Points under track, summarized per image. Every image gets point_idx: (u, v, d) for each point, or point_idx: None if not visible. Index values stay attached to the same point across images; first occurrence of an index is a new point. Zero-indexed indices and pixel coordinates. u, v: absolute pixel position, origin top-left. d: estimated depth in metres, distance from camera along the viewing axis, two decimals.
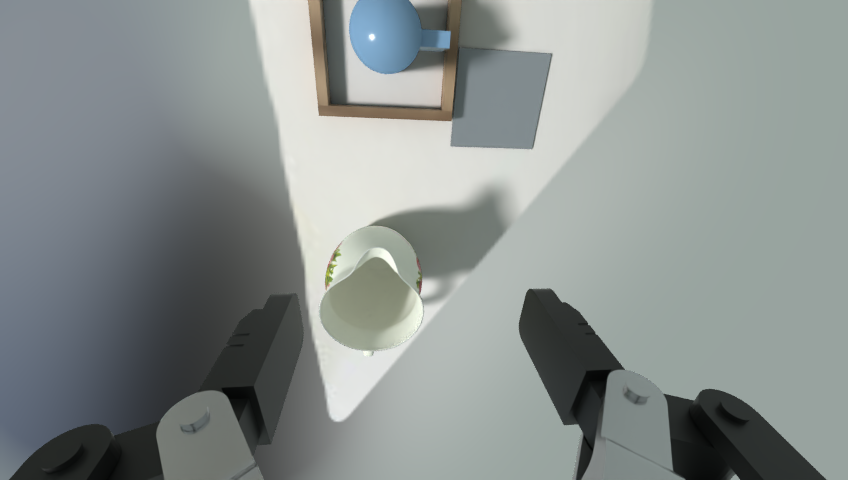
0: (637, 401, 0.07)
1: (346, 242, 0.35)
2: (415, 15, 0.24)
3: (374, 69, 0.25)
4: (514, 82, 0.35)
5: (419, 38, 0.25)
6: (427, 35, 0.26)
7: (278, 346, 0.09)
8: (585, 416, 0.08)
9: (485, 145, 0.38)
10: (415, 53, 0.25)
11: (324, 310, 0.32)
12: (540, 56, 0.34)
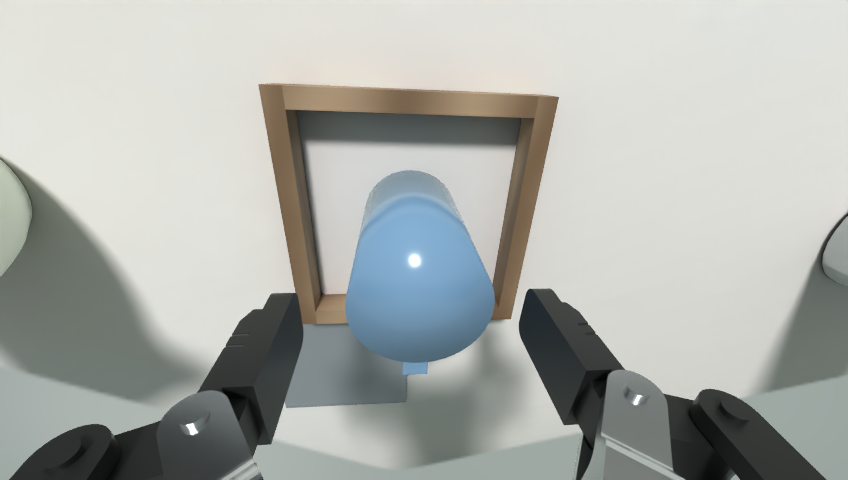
0: (637, 401, 0.07)
1: None
2: (450, 352, 0.13)
3: (351, 290, 0.11)
4: (370, 374, 0.26)
5: (414, 359, 0.13)
6: None
7: (278, 346, 0.09)
8: (585, 416, 0.08)
9: None
10: (389, 356, 0.13)
11: None
12: (402, 393, 0.27)
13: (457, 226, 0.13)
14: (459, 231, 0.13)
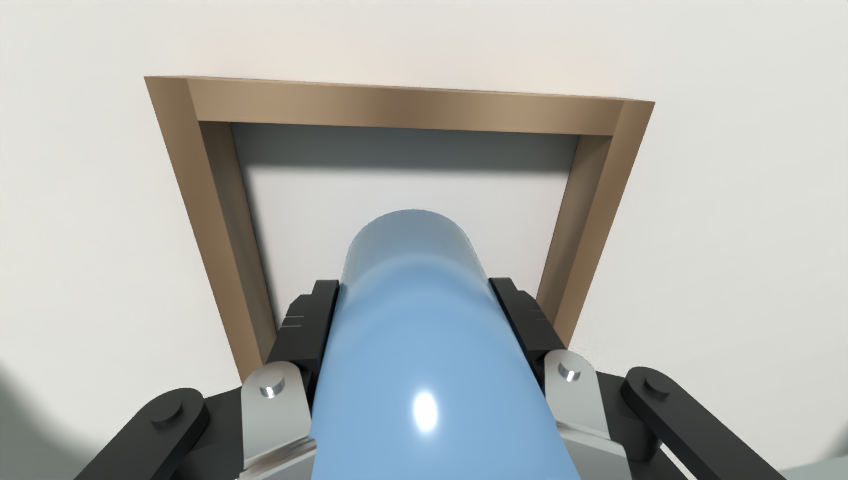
0: (568, 377, 0.08)
1: None
2: None
3: None
4: None
5: None
6: None
7: (329, 326, 0.09)
8: None
9: None
10: None
11: None
12: None
13: (505, 345, 0.07)
14: (512, 362, 0.07)
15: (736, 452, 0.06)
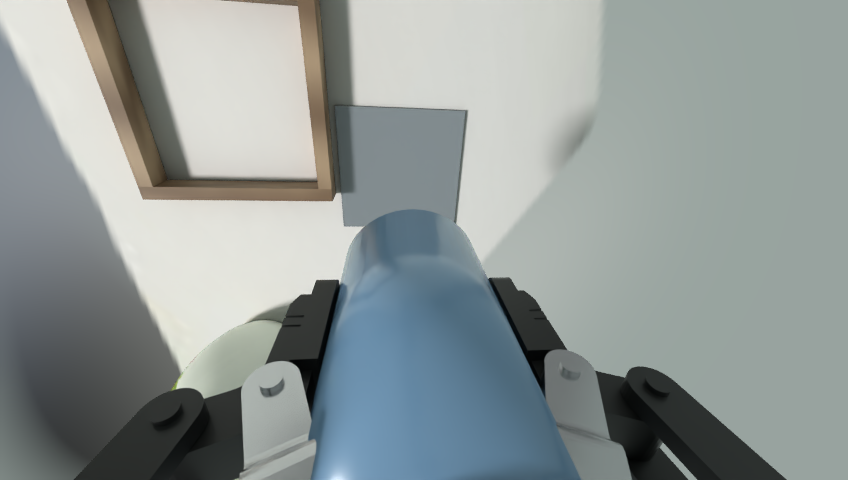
0: (568, 377, 0.08)
1: (193, 364, 0.26)
2: None
3: None
4: (418, 147, 0.26)
5: None
6: None
7: (329, 326, 0.09)
8: None
9: None
10: None
11: None
12: (450, 114, 0.25)
13: (505, 345, 0.07)
14: (512, 362, 0.07)
15: (736, 453, 0.06)
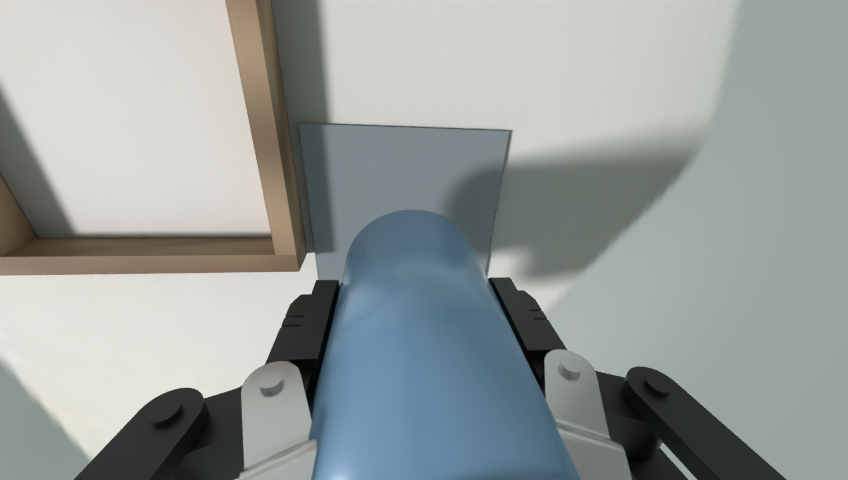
0: (568, 376, 0.08)
1: None
2: None
3: None
4: (433, 187, 0.17)
5: None
6: None
7: (329, 326, 0.09)
8: None
9: None
10: None
11: None
12: (485, 137, 0.16)
13: (505, 345, 0.07)
14: (512, 362, 0.07)
15: (736, 453, 0.06)
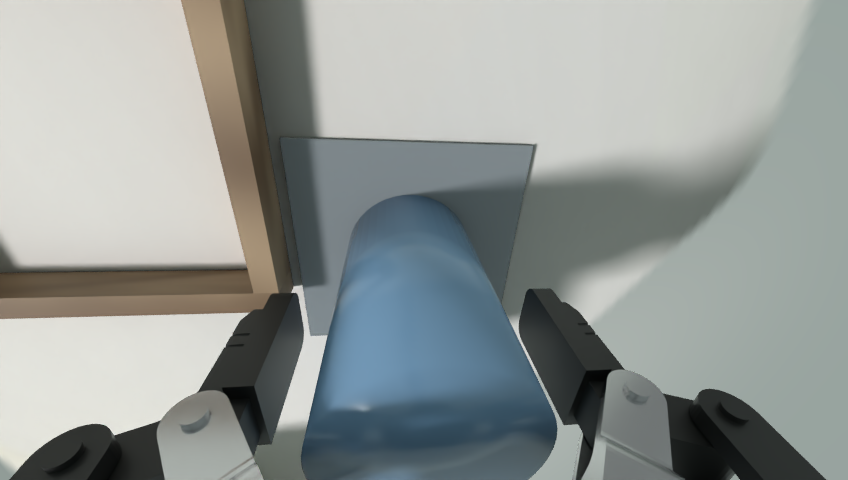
0: (637, 401, 0.07)
1: None
2: None
3: (310, 441, 0.06)
4: None
5: None
6: None
7: (278, 346, 0.09)
8: (585, 416, 0.08)
9: None
10: None
11: None
12: (505, 152, 0.13)
13: (488, 301, 0.08)
14: (493, 313, 0.08)
15: None
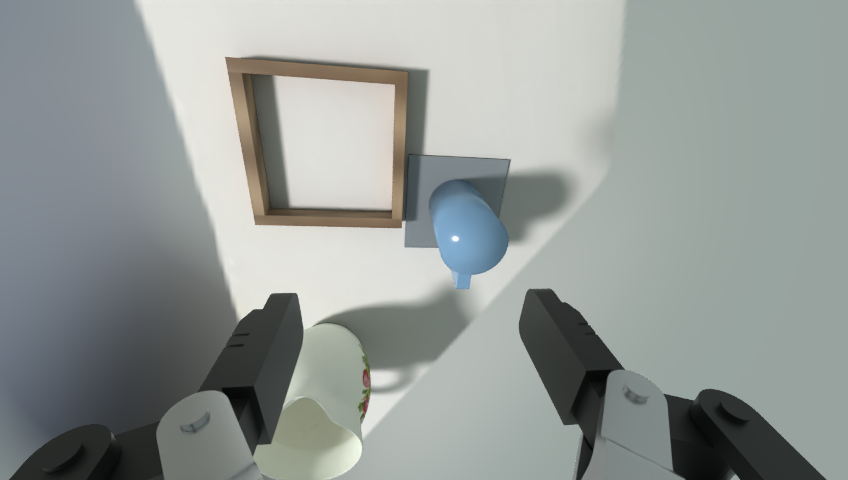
0: (637, 401, 0.07)
1: None
2: (485, 269, 0.26)
3: (444, 234, 0.25)
4: None
5: (467, 273, 0.26)
6: None
7: (278, 346, 0.09)
8: (585, 416, 0.08)
9: None
10: (456, 270, 0.26)
11: None
12: (497, 162, 0.32)
13: (489, 208, 0.27)
14: (491, 210, 0.26)
15: None
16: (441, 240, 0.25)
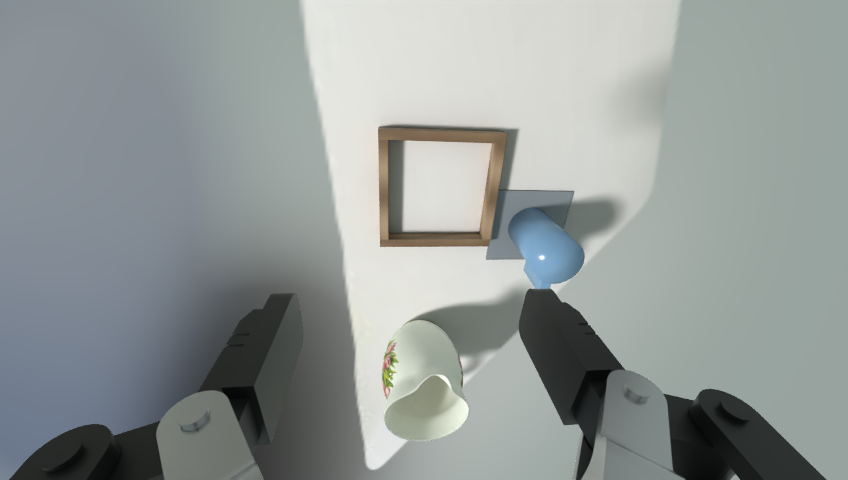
0: (637, 401, 0.07)
1: (400, 347, 0.42)
2: (565, 279, 0.35)
3: (538, 256, 0.34)
4: None
5: (552, 282, 0.36)
6: None
7: (278, 346, 0.09)
8: (585, 416, 0.08)
9: (515, 257, 0.44)
10: (544, 280, 0.35)
11: (386, 412, 0.39)
12: (564, 193, 0.41)
13: None
14: None
15: None
16: (536, 260, 0.34)
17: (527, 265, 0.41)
